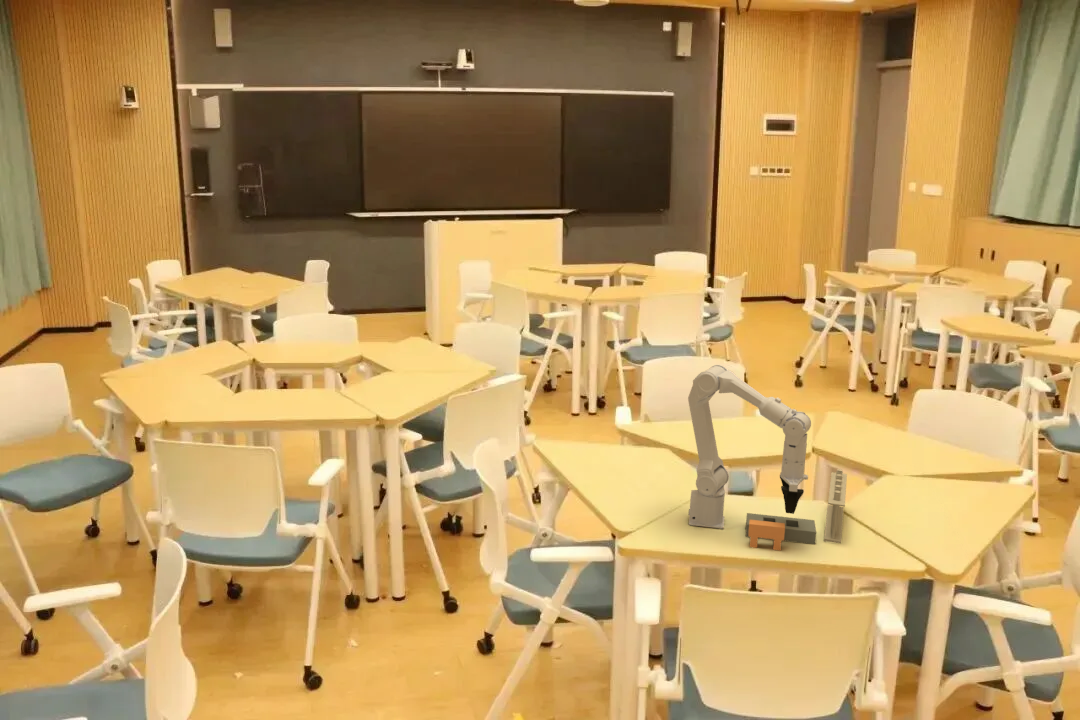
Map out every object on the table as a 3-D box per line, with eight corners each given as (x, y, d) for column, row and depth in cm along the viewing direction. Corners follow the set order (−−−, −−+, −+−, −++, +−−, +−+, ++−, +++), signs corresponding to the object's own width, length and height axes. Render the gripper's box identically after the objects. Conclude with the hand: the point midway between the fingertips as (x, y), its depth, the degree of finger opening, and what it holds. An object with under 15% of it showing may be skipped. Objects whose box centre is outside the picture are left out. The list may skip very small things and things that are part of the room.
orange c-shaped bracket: (747, 546, 240) (749, 524, 238) (747, 542, 242) (749, 519, 241) (782, 551, 238) (785, 527, 236) (782, 546, 241) (784, 523, 239)
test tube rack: (841, 544, 243) (846, 497, 240) (823, 541, 244) (828, 495, 241) (843, 509, 266) (848, 466, 263) (827, 507, 267) (832, 464, 264)
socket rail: (745, 536, 246) (746, 524, 245) (745, 524, 253) (746, 512, 253) (815, 544, 242) (816, 532, 241) (813, 532, 250) (814, 520, 249)
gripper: (811, 469, 231) (806, 519, 234) (807, 451, 244) (802, 498, 248) (783, 467, 232) (778, 516, 235) (780, 448, 246) (776, 495, 249)
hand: (789, 507), depth 242 cm, fingers open, 7 cm apart
